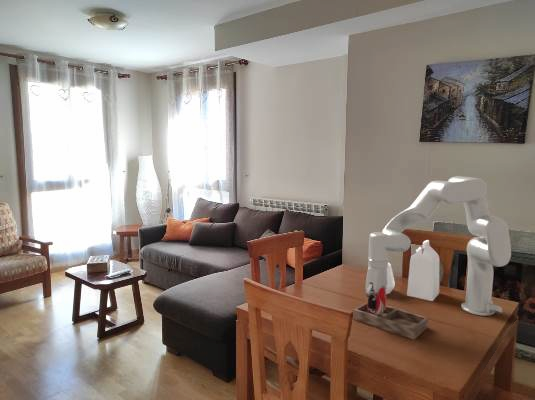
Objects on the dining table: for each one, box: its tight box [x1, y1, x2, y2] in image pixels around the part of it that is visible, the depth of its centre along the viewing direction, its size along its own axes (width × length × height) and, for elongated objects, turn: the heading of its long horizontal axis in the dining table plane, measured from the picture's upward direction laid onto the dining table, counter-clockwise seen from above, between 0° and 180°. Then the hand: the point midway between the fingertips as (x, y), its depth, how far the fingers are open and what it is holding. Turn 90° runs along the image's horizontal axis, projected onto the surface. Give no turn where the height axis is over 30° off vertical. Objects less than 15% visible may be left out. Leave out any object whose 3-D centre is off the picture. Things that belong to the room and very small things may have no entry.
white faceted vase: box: [386, 262, 396, 295], centre depth 185 cm, size 13×13×14 cm
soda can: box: [367, 285, 387, 316], centre depth 154 cm, size 7×7×12 cm
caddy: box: [352, 300, 429, 340], centre depth 151 cm, size 25×13×4 cm, turn 47°
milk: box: [406, 239, 440, 302], centre depth 180 cm, size 12×12×26 cm
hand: (376, 305), depth 154 cm, fingers closed on soda can, 7 cm apart
